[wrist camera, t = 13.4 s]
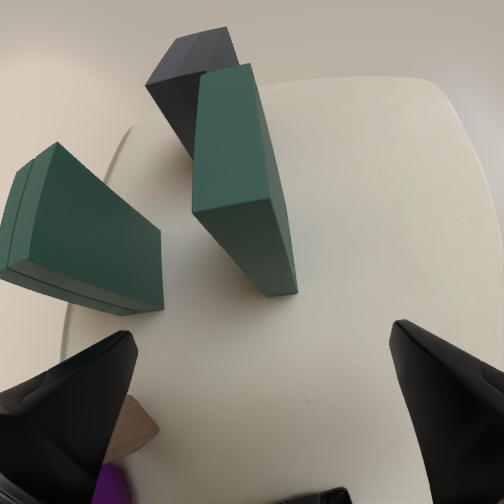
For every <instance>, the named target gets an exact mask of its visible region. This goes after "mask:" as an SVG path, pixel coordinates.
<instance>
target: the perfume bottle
mask: <svg viewBox="0 0 504 504" xmlns="http://www.w3.org/2000/svg"><path fill="white" fill-rule="evenodd" d="M92 504H131V497H130V494H129V491H128V488H127V484H126V481H125V478H124V474H123V470H122V468H121V467H119V466H115V465H112V464H109V463H107V464H104V465H102V468H101V472H100V475H99V478H98V481H97V486H96V489H95V493H94V497H93V501H92Z"/></svg>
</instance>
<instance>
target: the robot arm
mask: <svg viewBox="0 0 504 504" xmlns="http://www.w3.org/2000/svg"><path fill="white" fill-rule="evenodd" d="M389 346H390V350H391V354H392V358H393V362H394V365H395V370H396V374H397V378H398V381H399V385H400V388H401V391H402V393H403V396H404V399H405V402H406V405H407V408H408V411H409V414H410V417H411V420H412V423H413V426H414V429H415V433H416V436H417V439H418V443H419V446H420V450H421V453H422V457H423V461H424V465H425V468H426V472H427V477H428V481H429V484H430V485H429V486H430V490H431V495H432V500H433V504H504V372H502V371H500V370H498V369H496V368H494V367H492V366H490V365H488V364H487V363H485V362H483V361H480V360H479V359H478V358H476V357H474V356H472V355H470V354H469V353H467V352H465V351H463V350H461V349H459V348H458V347H456V346H454V345H452V344H450V343H449V342H447V341H445V340H443V339H441V338H439V337H438V336H436V335H434V334H432V333H430V332H428V331H426V330H425V329H423V328H421V327H419V326H417V325H415V324H414V323H412V322H410V321H408V320H406V319H403V320H396V321H395V322H394V323H393V327H392V331H391V336H390V340H389ZM137 356H138V348H137V346H136V343H135V341H134V338H133V335H132V333H131V332H130V331H124V330H120V331H118V332H116V333H114V334H112V335H110V336H109V337H107V338H105V339H103V340H101V341H100V342H98V343H96V344H94V345H92V346H90V347H89V348H87V349H85V350H83V351H81V352H80V353H78V354H76V355H74V356H72V357H70V358H69V359H67V360H65V361H63V362H61V363H59V364H58V365H56V366H54V367H52V368H50V369H48V371H45V372H43V373H41V374H39V375H38V376H35V377H33V378H32V379H30V380H27V381H25V382H23V383H21V384H19V385H17V386H14V387H12V388H10V389H8V390H5V391H3V392H1V393H0V504H92V501H93V497H94V493H95V489H96V486H97V481H98V478H99V475H100V472H101V468H102V465H103V462H104V459H105V455H106V452H107V449H108V446H109V443H110V440H111V437H112V434H113V431H114V428H115V425H116V423H117V420H118V417H119V414H120V411H121V409H122V406H123V403H124V400H125V398H126V395H127V392H128V389H129V386H130V383H131V379H132V375H133V371H134V367H135V364H136V360H137ZM340 492H344V494H342V495H339V493H340ZM279 504H352V501H351V498H350V495H349V493H348V490H347V489H346V488H343V487H341V488H337V489H334V490H331V491H328V492H325V493H321V494H314V495H310V496H306V497H302V498H298V499H294V500H289V501H285V502H284V503H279Z"/></svg>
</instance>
